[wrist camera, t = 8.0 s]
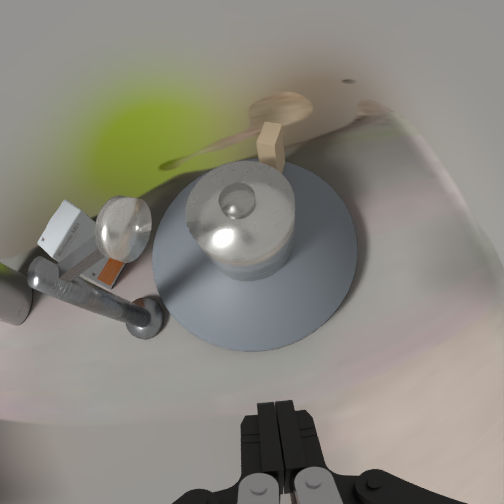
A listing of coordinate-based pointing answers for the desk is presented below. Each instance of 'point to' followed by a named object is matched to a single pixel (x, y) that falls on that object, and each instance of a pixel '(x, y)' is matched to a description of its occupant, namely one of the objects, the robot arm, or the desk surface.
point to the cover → (243, 219)
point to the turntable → (271, 288)
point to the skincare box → (77, 242)
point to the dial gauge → (93, 250)
